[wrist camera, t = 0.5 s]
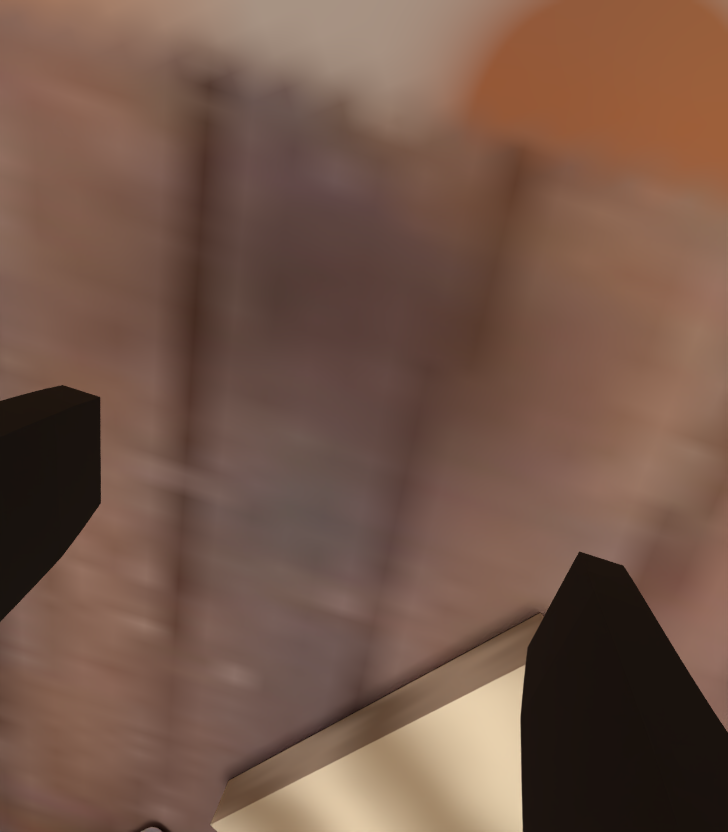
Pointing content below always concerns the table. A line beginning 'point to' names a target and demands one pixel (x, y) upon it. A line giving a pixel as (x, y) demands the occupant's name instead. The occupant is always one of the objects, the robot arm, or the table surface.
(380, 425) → the table surface
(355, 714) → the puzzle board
